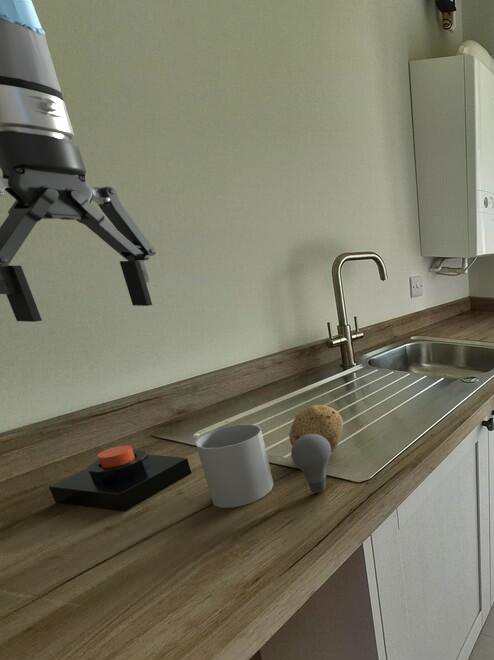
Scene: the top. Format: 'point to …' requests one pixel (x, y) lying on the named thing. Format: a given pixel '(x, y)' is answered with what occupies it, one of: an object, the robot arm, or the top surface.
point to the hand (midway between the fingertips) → (92, 312)
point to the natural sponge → (318, 424)
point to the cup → (235, 465)
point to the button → (116, 456)
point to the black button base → (121, 482)
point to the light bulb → (312, 459)
